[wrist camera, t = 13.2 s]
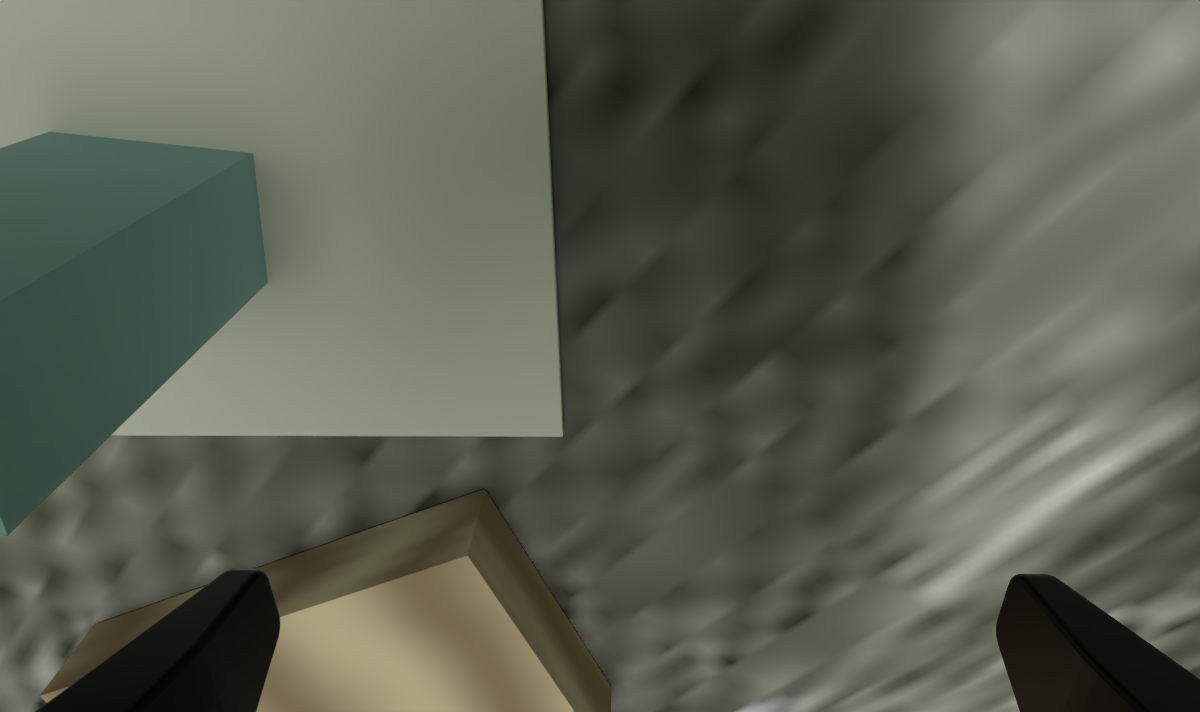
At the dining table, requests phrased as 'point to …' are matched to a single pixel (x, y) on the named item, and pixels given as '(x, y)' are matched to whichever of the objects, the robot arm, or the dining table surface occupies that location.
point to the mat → (337, 199)
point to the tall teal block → (109, 289)
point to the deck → (405, 624)
